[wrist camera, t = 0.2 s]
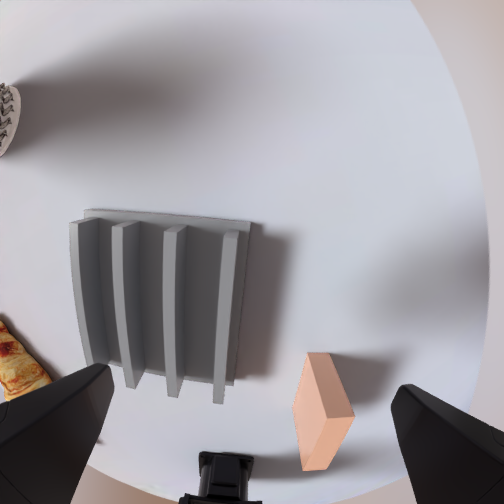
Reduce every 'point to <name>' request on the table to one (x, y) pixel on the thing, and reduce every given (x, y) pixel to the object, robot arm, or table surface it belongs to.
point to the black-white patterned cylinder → (8, 115)
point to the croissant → (18, 367)
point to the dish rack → (160, 294)
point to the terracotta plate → (320, 412)
